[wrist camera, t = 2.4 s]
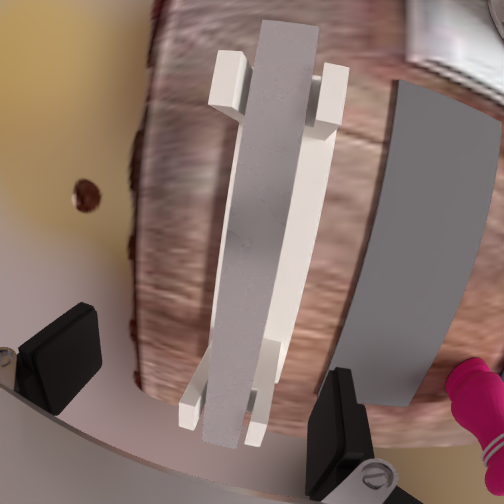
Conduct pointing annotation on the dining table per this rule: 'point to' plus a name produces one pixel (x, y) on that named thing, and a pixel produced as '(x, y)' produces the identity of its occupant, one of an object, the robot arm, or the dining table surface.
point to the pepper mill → (481, 414)
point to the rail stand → (296, 235)
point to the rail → (257, 219)
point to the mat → (418, 243)
